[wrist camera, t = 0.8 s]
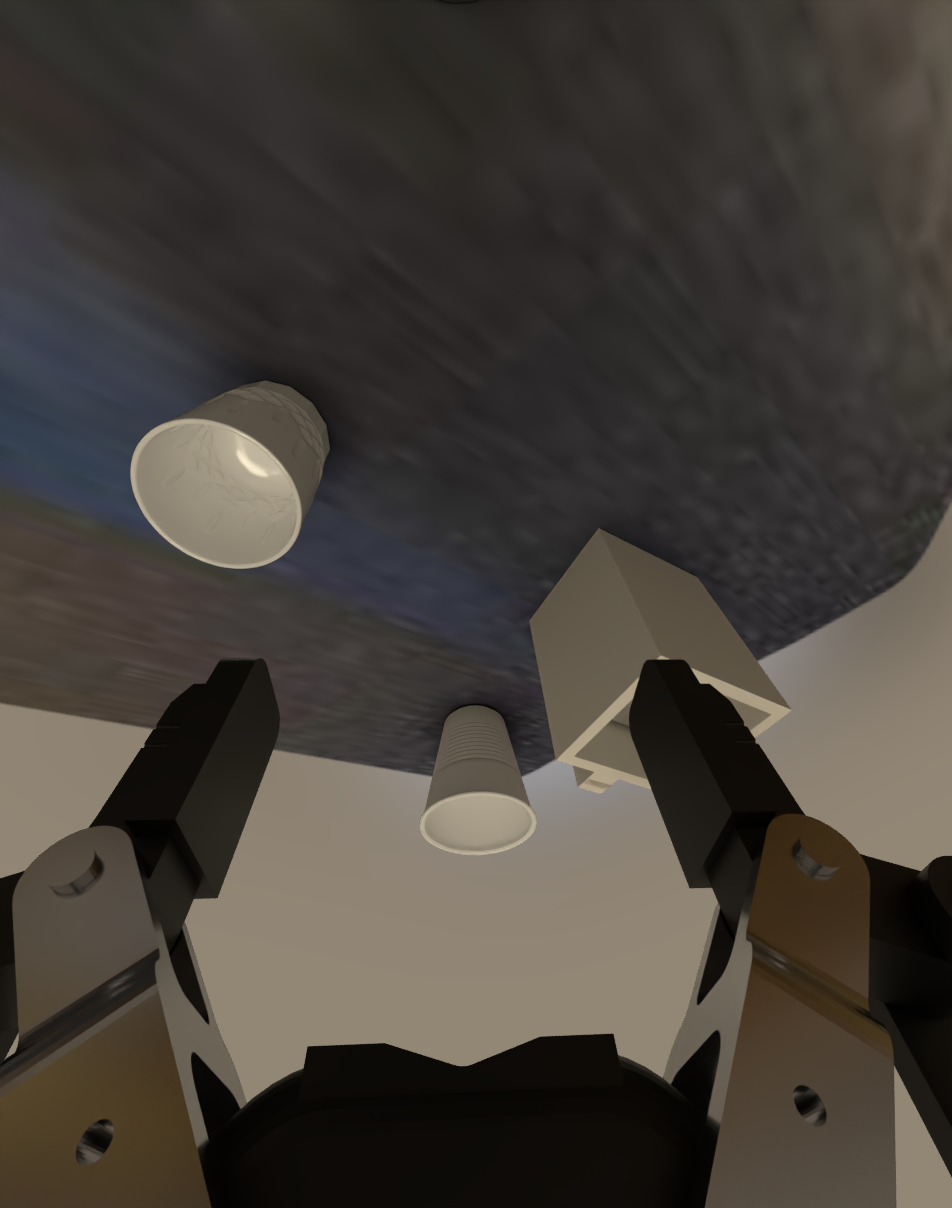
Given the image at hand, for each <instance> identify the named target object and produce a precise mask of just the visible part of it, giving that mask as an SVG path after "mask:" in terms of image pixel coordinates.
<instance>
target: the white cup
mask: <svg viewBox="0 0 952 1208" xmlns="http://www.w3.org/2000/svg"><path fill="white" fill-rule="evenodd" d="M329 450H330V445H329V438H328V432H327V426H326V424H325V422H324V420H323V419H322V417H321V416H320V414H319V412H318V411H317V409H316V408H315V406H314V404H313V403H312V402H311V401H309V400H308V399H307V398H305V397H304V396H302V395H301V394H300V393H298V392H297V391H296V390H294V389H293V388H292V387H290V386H286V385H282V384H278V383H274V382H270V381H266V380H264V381H260V382H255V383H251V384H246V385H242V386H240V387H238V388H236V389H234V390H231V391H228V392H226V393H223V394H221V395H219V396H217V397H215V398H212V399H210V400H208V401H206V402H204V403H202V404H200V405H198V406H196V407H194V408H192V409H190V410H189V411H187V412H185V413H183V414H181V415H179V416H177V417H175V418H173V419H171V420H169V421H167V422H165V423H163V424H161V425H159V426H157V427H156V428H154V429H153V430H151V431H150V432H149V433H147V434H146V435H145V436H144V437H143V439H142V440H141V441H140V442H139V444H138V446H137V447H136V449H135V452H134V454H133V457H132V462H131V471H130V473H131V484H132V488H133V492H134V495H135V498H136V500H137V502H138V505H139V507H140V509H141V510H142V512H143V514H144V515H145V517H146V518H147V520H148V521H149V522H150V523H151V525H152V526H153V527H154V528H155V529H156V530H157V531H158V532H159V533H160V534H161V535H162V536H163V537H164V538H165V539H166V540H167V541H168V542H170V543H171V544H172V545H174V546H175V547H177V548H178V549H180V550H181V551H183V552H184V553H186V554H188V555H190V556H192V557H194V558H196V559H198V560H201V561H203V562H206V563H209V564H212V565H216V566H221V567H226V568H237V569H243V568H254V567H259V566H263V565H266V564H268V563H271V562H273V561H275V560H277V559H278V558H280V557H281V556H282V555H284V554H285V553H286V552H287V551H288V550H289V549H290V548H291V546H292V545H293V544H294V542H295V540H296V538H297V536H298V534H299V531H300V529H301V527H302V524H303V522H304V520H305V517H306V515H307V513H308V510H309V508H310V506H311V504H312V501H313V499H314V496H315V493H316V490H317V488H318V486H319V482H320V480H321V477H322V474H323V468H324V465H325V462H326V459H327V456H328V453H329Z"/></svg>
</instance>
